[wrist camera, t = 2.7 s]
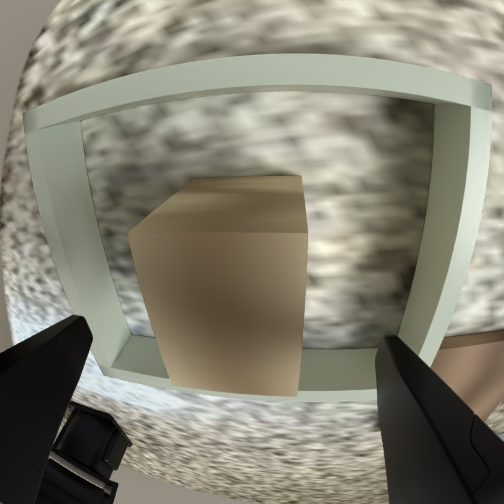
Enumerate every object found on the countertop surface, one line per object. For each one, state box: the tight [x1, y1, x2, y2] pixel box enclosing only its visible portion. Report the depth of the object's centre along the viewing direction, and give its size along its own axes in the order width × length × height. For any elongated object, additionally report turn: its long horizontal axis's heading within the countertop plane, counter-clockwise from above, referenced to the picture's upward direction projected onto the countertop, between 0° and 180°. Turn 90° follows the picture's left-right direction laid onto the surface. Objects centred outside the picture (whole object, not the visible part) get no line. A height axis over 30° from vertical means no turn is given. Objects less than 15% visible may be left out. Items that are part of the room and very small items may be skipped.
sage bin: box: [23, 54, 492, 402], centre depth 12 cm, size 18×15×3 cm
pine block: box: [127, 176, 308, 397], centre depth 11 cm, size 4×6×6 cm
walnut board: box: [381, 330, 504, 437], centre depth 16 cm, size 11×11×1 cm
